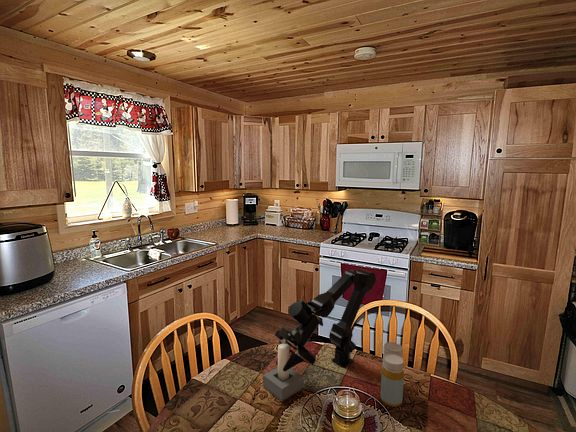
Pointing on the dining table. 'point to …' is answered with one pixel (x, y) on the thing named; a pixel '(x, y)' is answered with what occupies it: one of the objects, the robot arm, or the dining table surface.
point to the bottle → (392, 380)
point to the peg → (283, 361)
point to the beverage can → (392, 350)
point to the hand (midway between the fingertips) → (280, 367)
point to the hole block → (282, 384)
